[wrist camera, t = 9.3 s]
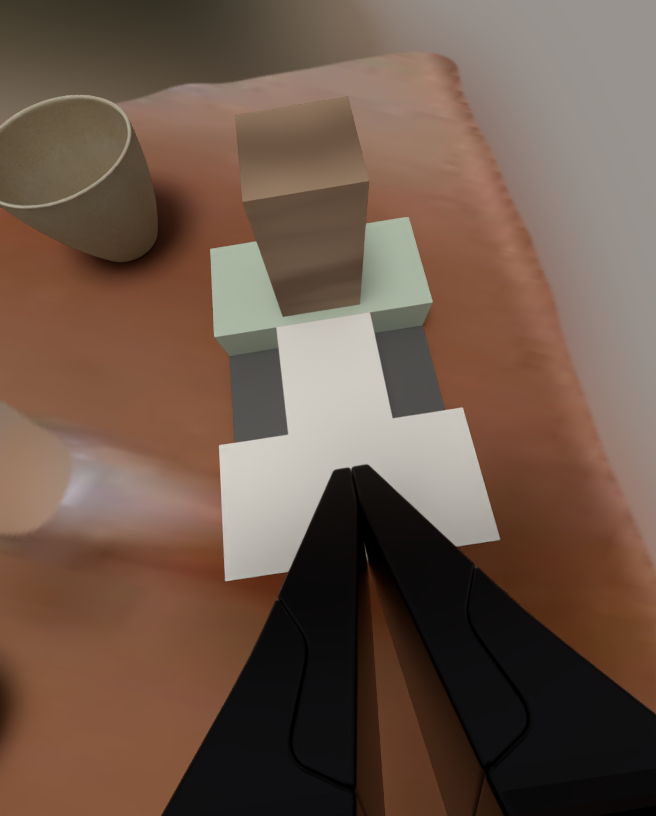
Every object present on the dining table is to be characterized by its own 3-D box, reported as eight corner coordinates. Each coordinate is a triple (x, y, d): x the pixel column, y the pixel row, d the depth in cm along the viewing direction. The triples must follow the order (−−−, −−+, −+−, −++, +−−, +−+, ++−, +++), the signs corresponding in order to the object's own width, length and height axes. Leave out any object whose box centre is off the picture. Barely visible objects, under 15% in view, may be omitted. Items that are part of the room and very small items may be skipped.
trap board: (475, 533, 18) (500, 539, 15) (243, 568, 18) (225, 581, 16) (400, 250, 24) (408, 216, 21) (226, 278, 24) (210, 249, 22)
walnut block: (359, 304, 20) (369, 181, 12) (282, 317, 20) (242, 201, 12) (347, 242, 21) (347, 96, 13) (274, 254, 21) (235, 115, 13)
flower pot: (210, 227, 26) (162, 130, 19) (121, 309, 24) (33, 234, 17) (135, 176, 28) (67, 73, 21) (48, 248, 26) (-57, 161, 20)
